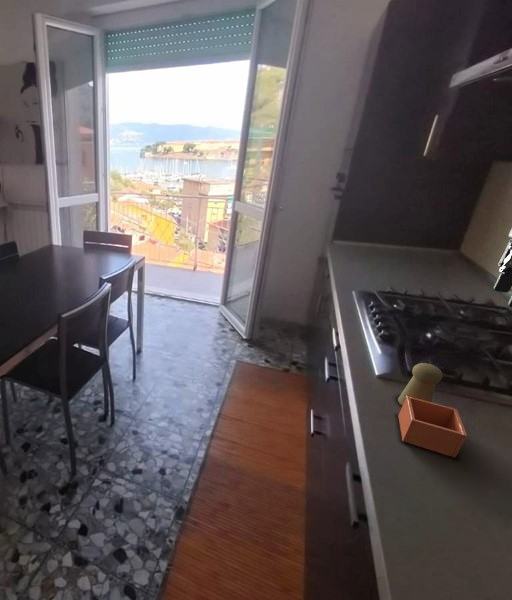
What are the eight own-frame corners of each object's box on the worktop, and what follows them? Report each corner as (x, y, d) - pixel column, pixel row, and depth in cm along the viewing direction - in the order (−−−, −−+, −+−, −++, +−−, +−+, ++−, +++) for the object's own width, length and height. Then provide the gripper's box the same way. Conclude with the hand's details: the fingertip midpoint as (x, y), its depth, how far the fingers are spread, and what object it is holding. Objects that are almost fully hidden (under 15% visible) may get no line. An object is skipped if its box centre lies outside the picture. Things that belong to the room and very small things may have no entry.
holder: (398, 416, 82) (406, 395, 80) (446, 429, 78) (457, 409, 76) (402, 441, 76) (412, 420, 73) (455, 457, 72) (467, 436, 69)
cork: (391, 397, 88) (406, 360, 83) (413, 395, 89) (429, 358, 84) (412, 414, 83) (429, 376, 78) (436, 412, 83) (454, 374, 78)
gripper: (604, 226, 55) (551, 318, 62) (562, 209, 66) (521, 289, 73) (535, 221, 58) (492, 309, 65) (506, 206, 69) (472, 283, 76)
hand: (507, 299), depth 69 cm, fingers open, 8 cm apart
